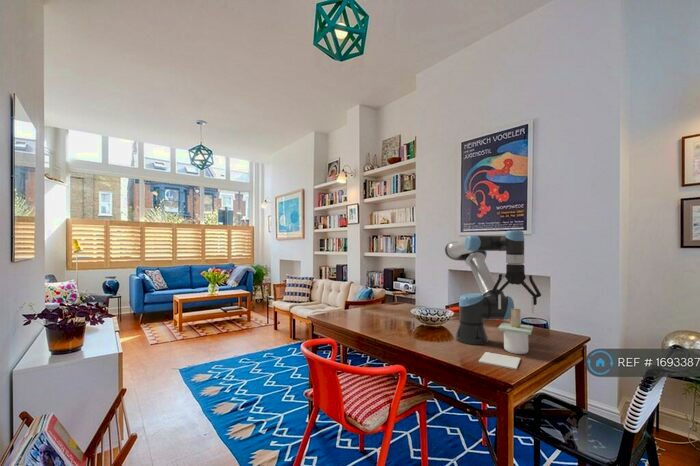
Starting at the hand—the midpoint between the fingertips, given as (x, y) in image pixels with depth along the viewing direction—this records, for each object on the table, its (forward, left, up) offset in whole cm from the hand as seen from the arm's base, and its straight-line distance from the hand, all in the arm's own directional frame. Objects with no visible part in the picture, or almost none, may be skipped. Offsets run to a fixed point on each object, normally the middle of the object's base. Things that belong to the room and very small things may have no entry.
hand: (515, 310), depth 149 cm
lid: (0, 0, -9) cm, 9 cm away
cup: (0, 0, -19) cm, 19 cm away
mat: (-4, -18, -19) cm, 26 cm away
